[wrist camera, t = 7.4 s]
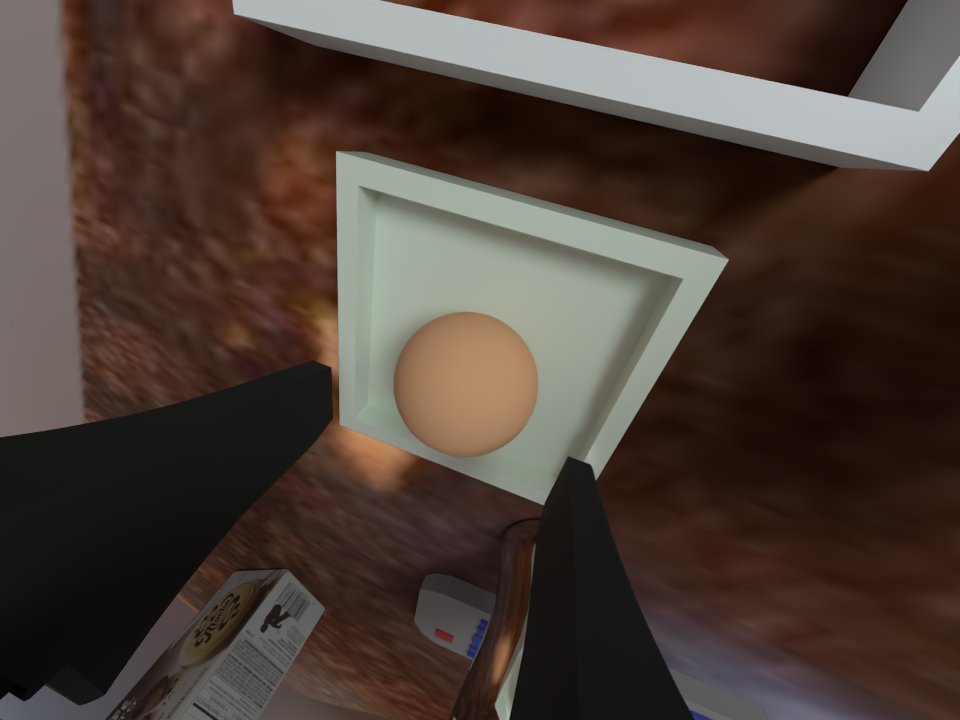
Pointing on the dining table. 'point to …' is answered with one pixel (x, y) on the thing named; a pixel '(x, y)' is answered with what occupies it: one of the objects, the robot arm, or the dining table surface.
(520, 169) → the dining table surface
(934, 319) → the dining table surface
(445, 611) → the remote control
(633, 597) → the robot arm
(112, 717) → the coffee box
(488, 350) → the ball
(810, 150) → the white bent bar
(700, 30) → the dining table surface
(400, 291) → the tray
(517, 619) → the beer glass
